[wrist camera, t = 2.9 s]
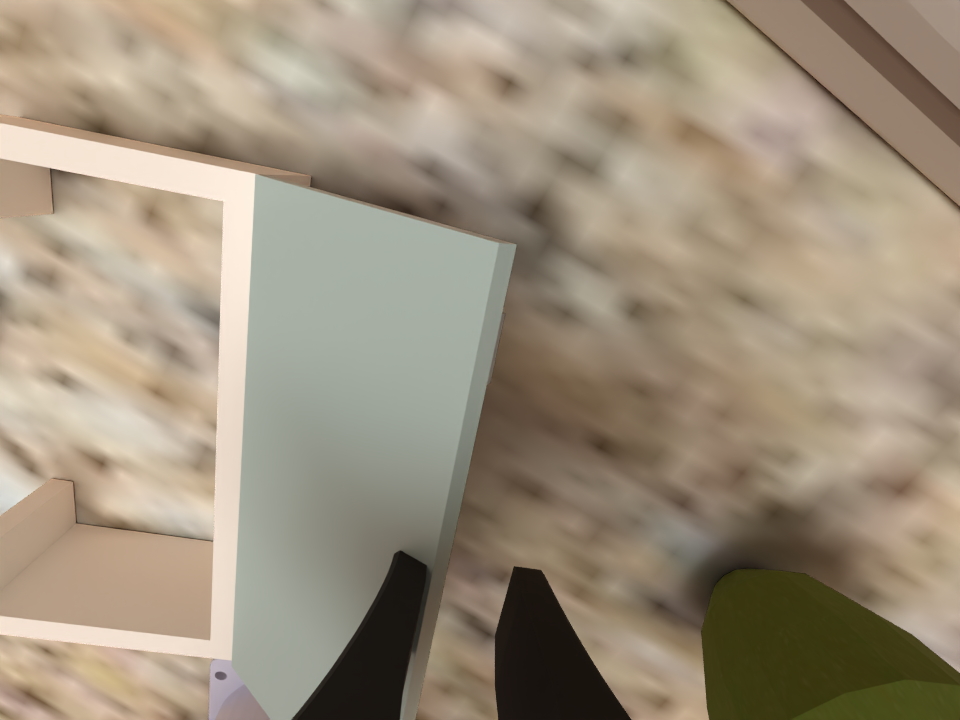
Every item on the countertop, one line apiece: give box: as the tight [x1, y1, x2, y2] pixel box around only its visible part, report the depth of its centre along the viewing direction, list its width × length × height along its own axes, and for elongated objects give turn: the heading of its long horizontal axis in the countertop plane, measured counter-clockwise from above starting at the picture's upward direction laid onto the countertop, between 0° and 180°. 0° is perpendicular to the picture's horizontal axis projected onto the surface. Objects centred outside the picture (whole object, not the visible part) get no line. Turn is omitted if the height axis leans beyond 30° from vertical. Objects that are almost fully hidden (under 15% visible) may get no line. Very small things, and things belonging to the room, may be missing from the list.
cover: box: [231, 174, 517, 720], centre depth 13 cm, size 16×8×1 cm
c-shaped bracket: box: [0, 114, 311, 661], centre depth 17 cm, size 16×9×5 cm, turn 169°
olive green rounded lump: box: [701, 569, 960, 720], centre depth 18 cm, size 9×8×12 cm
